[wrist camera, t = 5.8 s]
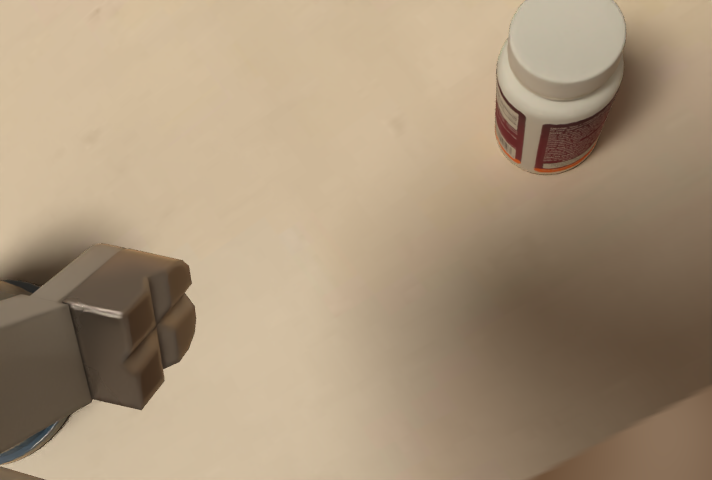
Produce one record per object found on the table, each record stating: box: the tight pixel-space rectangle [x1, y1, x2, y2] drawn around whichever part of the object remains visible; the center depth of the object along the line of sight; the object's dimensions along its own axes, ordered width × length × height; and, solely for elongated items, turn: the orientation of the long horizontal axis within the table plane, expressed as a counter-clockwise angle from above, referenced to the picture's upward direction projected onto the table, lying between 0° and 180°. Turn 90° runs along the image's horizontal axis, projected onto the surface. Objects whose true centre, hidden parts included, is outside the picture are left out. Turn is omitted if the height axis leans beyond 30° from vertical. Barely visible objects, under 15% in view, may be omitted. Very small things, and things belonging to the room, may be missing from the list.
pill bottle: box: [495, 0, 626, 175], centre depth 28 cm, size 5×5×8 cm
